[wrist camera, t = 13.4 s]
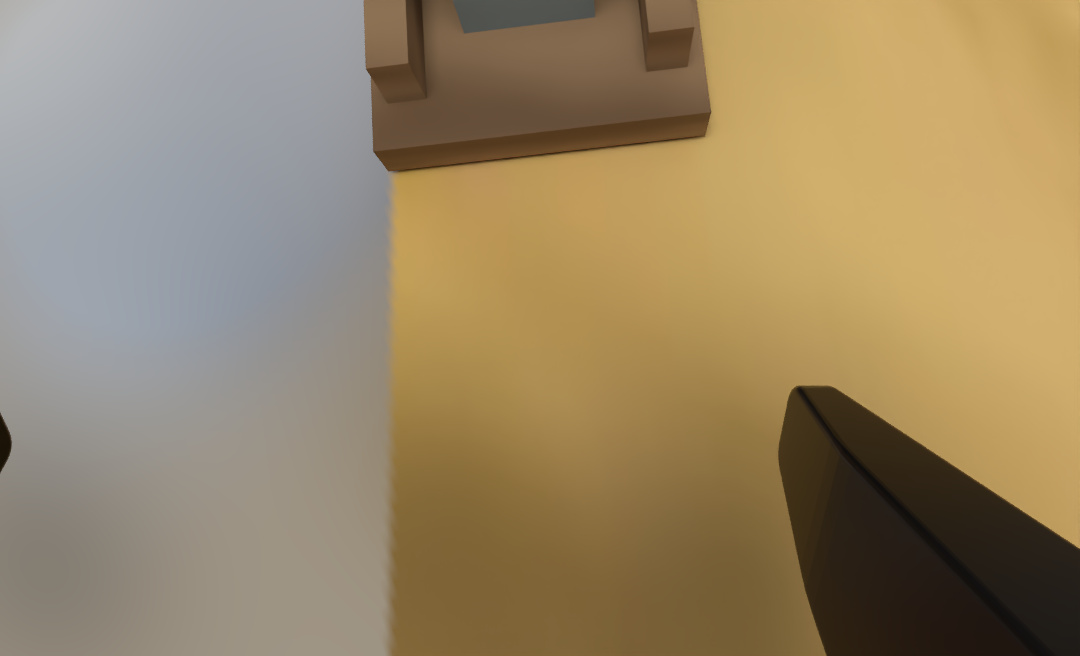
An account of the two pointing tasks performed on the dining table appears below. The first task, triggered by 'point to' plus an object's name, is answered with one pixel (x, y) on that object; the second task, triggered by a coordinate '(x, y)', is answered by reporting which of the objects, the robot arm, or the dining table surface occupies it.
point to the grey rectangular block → (518, 13)
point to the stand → (531, 81)
